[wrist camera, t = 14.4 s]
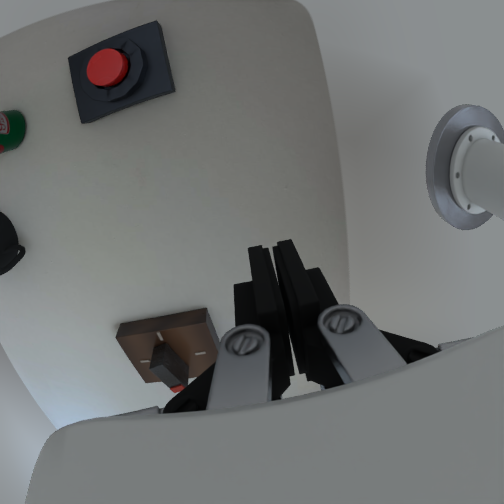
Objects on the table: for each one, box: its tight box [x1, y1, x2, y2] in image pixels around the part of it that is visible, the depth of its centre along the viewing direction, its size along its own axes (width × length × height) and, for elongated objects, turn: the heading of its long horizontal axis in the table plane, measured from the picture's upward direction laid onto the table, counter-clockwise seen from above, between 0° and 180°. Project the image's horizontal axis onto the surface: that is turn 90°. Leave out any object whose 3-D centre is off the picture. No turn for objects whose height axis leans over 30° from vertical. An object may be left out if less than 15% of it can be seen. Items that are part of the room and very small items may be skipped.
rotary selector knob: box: [149, 343, 189, 393], centre depth 35 cm, size 6×2×4 cm, turn 26°
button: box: [87, 49, 128, 87], centre depth 20 cm, size 4×4×2 cm
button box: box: [68, 21, 175, 124], centre depth 22 cm, size 10×8×4 cm
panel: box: [116, 308, 220, 383], centre depth 38 cm, size 13×10×3 cm
